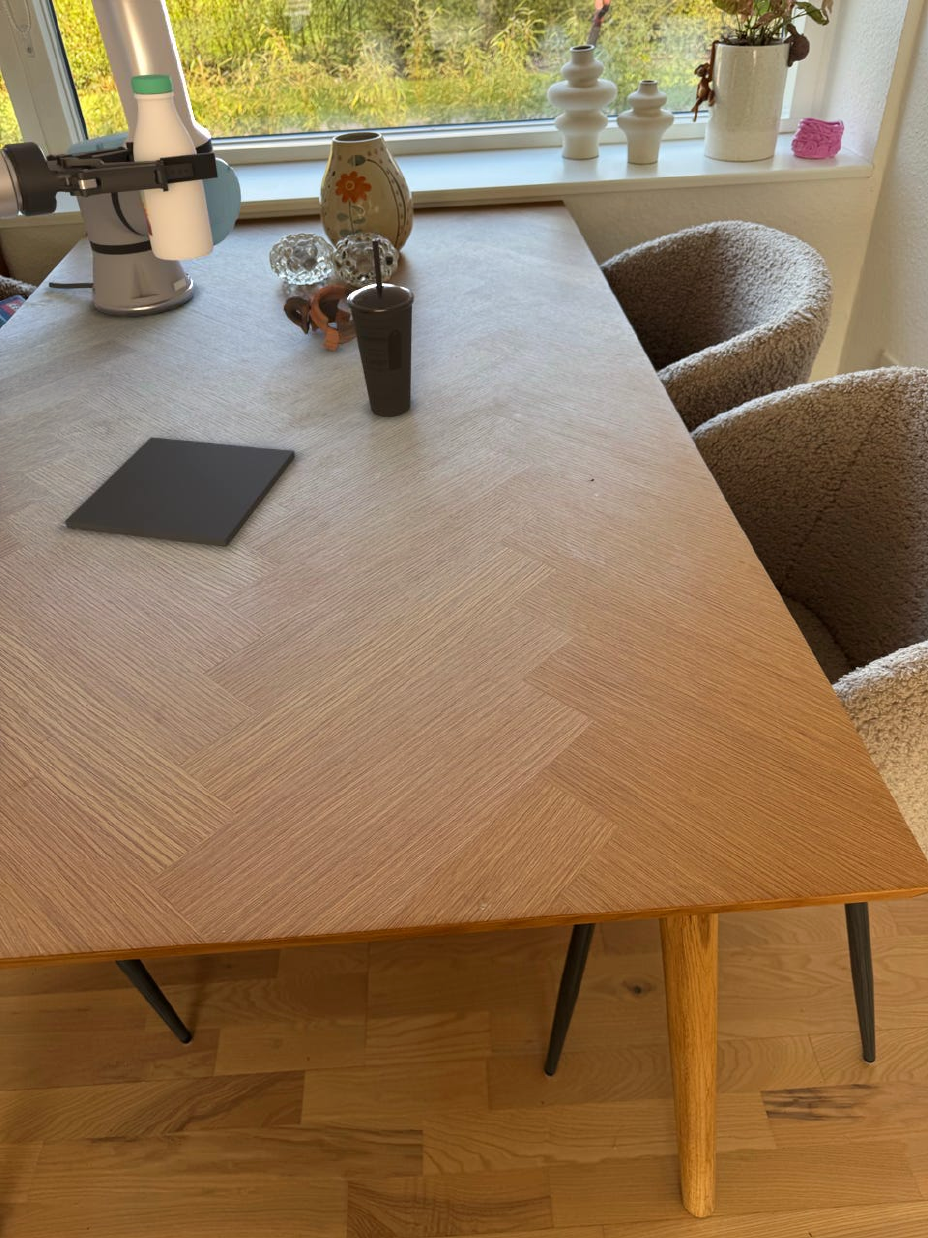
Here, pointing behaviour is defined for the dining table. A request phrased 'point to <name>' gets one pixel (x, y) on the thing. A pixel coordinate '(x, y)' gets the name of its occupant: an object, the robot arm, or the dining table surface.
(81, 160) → the robot arm
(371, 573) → the dining table surface
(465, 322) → the dining table surface
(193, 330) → the dining table surface
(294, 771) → the dining table surface
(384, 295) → the drinking cup
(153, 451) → the slate mat
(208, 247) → the milk bottle
